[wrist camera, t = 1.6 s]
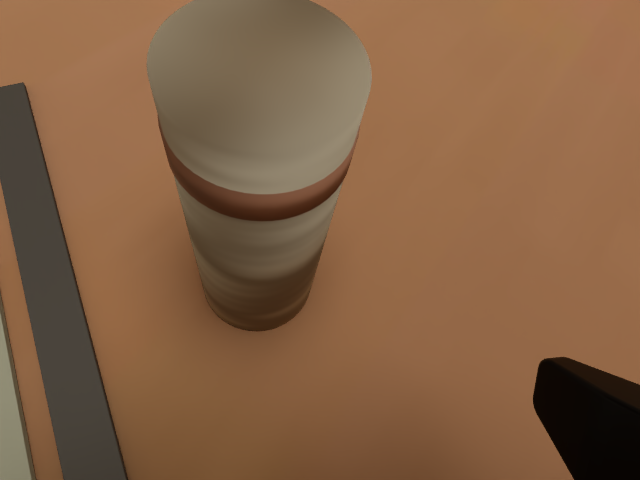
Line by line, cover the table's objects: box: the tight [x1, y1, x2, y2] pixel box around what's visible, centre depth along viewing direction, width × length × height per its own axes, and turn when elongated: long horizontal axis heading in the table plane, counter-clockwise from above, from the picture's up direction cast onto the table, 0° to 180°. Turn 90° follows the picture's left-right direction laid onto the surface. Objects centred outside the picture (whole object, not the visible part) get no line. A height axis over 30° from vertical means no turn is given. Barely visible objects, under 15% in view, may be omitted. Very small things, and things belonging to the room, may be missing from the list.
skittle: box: [147, 0, 372, 331], centre depth 16 cm, size 5×5×13 cm
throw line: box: [0, 83, 128, 480], centre depth 19 cm, size 30×2×1 cm, turn 25°
